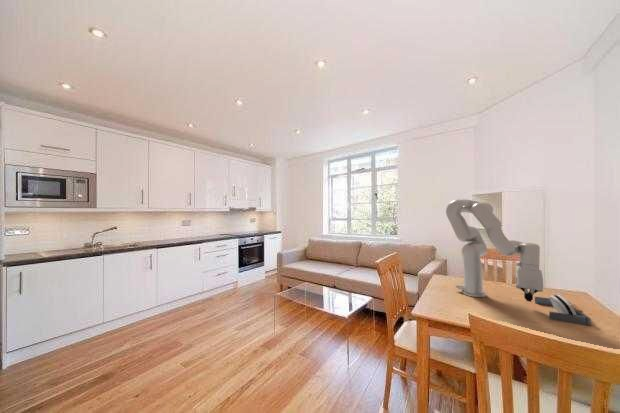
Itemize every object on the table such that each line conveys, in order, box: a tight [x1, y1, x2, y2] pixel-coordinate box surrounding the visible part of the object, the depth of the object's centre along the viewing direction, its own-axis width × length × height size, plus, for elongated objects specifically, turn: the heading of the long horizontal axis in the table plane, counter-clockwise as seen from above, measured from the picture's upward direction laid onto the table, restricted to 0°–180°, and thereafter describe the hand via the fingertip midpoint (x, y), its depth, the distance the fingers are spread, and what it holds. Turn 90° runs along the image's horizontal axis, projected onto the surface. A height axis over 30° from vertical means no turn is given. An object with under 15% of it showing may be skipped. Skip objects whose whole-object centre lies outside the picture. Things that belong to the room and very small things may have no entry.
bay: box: [533, 295, 592, 327], centre depth 117 cm, size 13×23×4 cm, turn 150°
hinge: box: [548, 294, 577, 315], centre depth 115 cm, size 17×5×10 cm, turn 152°
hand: (528, 300), depth 123 cm, fingers closed
